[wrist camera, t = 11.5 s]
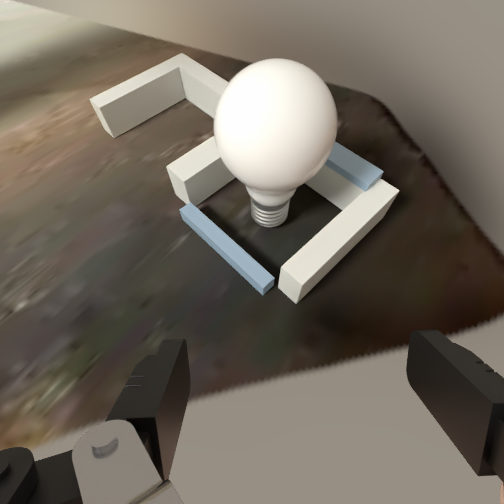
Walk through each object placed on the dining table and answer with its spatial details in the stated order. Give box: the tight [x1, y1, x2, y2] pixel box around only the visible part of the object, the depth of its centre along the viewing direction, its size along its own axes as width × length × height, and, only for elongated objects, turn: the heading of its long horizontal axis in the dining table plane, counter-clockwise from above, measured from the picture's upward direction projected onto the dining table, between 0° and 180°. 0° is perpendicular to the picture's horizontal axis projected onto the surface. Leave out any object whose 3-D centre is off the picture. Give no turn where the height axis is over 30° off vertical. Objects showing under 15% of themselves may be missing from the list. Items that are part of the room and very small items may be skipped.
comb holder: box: [89, 53, 399, 304], centre depth 24 cm, size 23×11×4 cm, turn 44°
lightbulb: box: [214, 58, 337, 227], centre depth 18 cm, size 6×6×11 cm
